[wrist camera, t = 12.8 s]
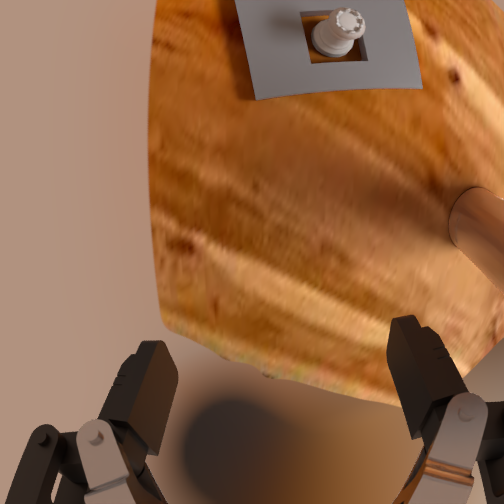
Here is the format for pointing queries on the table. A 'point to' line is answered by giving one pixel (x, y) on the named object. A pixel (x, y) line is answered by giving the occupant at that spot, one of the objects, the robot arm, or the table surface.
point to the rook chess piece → (338, 32)
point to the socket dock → (334, 73)
